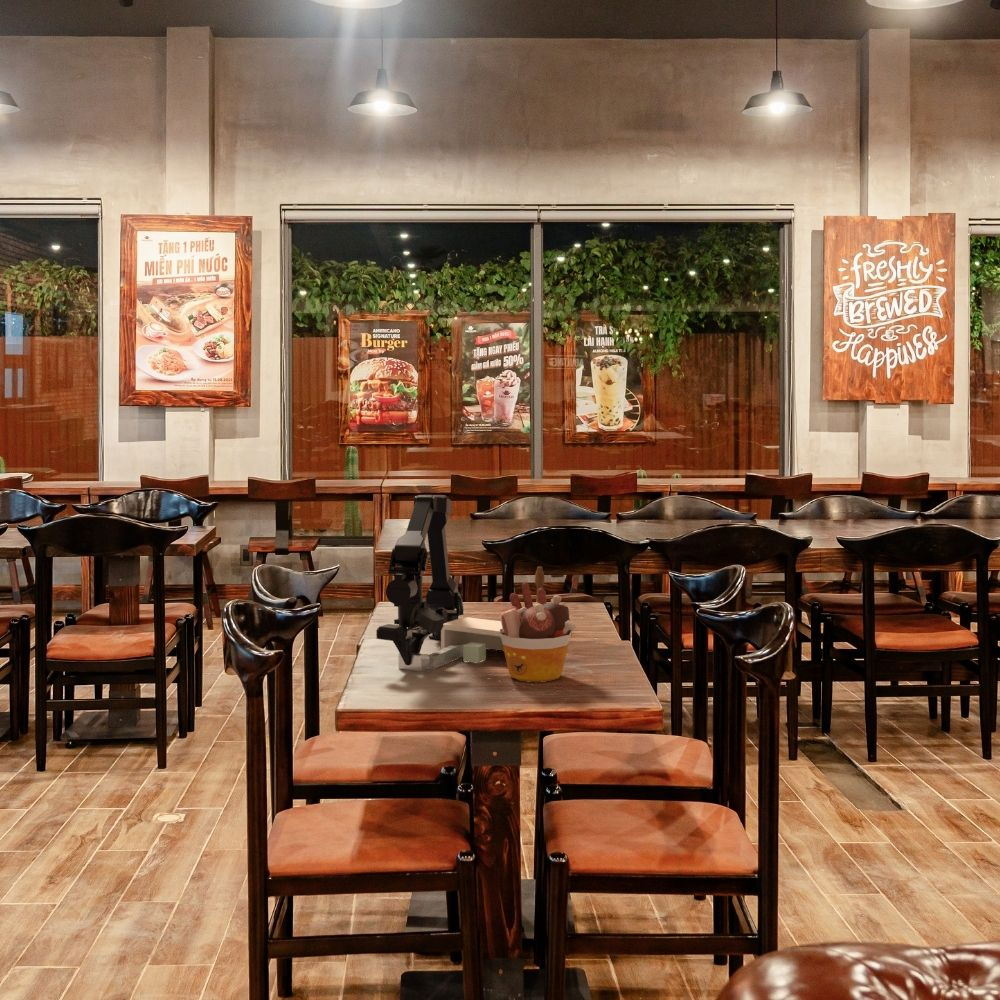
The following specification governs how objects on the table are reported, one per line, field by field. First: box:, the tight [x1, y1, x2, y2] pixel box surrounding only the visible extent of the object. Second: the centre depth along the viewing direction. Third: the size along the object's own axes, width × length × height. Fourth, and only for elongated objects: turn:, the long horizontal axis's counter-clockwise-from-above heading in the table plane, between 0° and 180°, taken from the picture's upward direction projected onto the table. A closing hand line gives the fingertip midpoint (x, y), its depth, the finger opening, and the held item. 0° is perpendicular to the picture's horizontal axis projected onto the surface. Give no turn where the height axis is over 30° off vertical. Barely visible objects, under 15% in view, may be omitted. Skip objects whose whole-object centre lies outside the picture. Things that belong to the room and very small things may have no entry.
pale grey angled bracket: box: [398, 643, 466, 673], centre depth 271 cm, size 13×18×4 cm
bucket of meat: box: [500, 582, 577, 682], centre depth 256 cm, size 20×16×20 cm
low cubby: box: [440, 616, 504, 651], centre depth 280 cm, size 20×10×7 cm, turn 58°
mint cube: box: [462, 642, 487, 663], centre depth 272 cm, size 4×4×4 cm
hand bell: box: [533, 566, 545, 607], centre depth 316 cm, size 8×8×16 cm
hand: (411, 664), depth 265 cm, fingers closed on pale grey angled bracket, 2 cm apart
